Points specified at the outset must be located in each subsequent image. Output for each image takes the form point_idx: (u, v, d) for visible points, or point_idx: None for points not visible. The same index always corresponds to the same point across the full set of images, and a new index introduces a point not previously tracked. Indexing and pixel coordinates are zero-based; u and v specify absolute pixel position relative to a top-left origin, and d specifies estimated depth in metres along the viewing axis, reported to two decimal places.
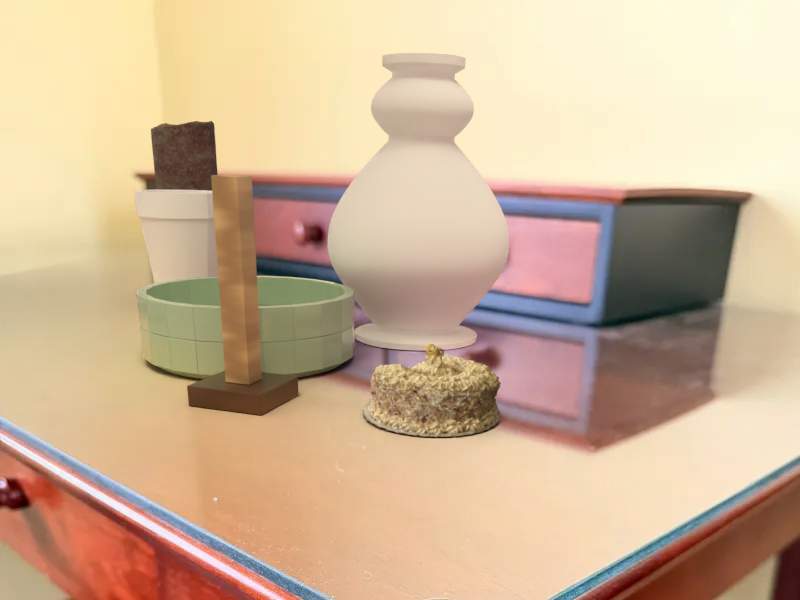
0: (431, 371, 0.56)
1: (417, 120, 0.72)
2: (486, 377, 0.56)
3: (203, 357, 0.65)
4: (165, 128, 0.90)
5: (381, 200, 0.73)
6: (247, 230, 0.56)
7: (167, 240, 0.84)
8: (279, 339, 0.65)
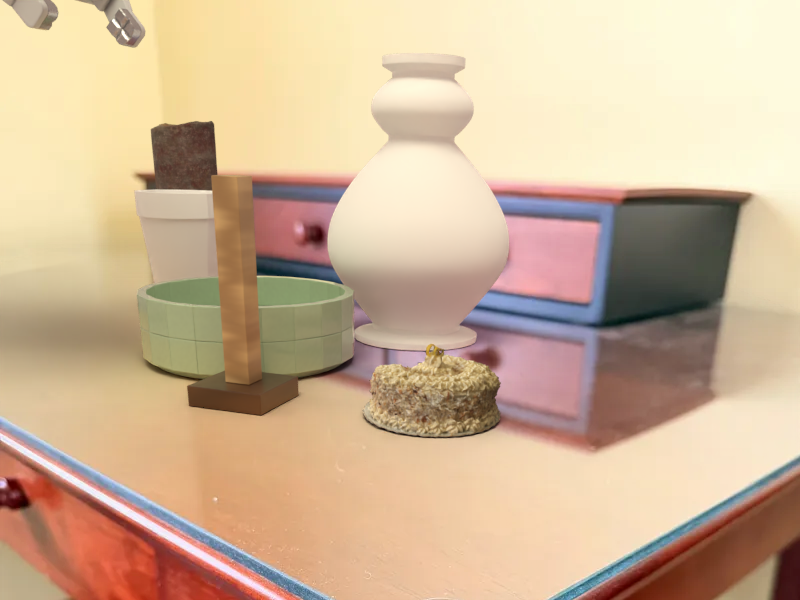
0: (431, 371, 0.56)
1: (417, 120, 0.72)
2: (486, 377, 0.56)
3: (203, 357, 0.65)
4: (165, 128, 0.90)
5: (381, 200, 0.73)
6: (247, 230, 0.56)
7: (167, 240, 0.84)
8: (279, 339, 0.65)
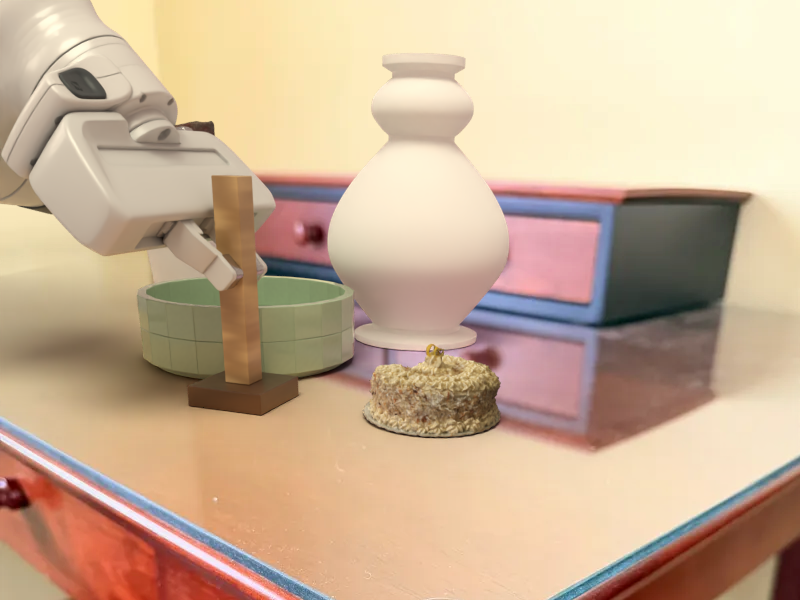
0: (431, 371, 0.56)
1: (417, 120, 0.72)
2: (486, 377, 0.56)
3: (203, 357, 0.65)
4: None
5: (381, 200, 0.73)
6: (247, 230, 0.56)
7: None
8: (279, 339, 0.65)
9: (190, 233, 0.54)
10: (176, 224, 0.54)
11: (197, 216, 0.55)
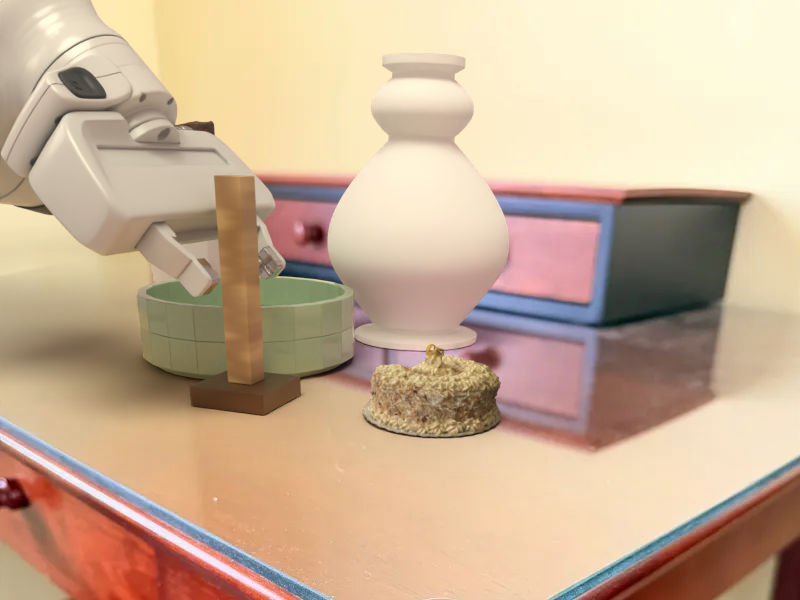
0: (431, 371, 0.56)
1: (417, 120, 0.72)
2: (486, 377, 0.56)
3: (203, 357, 0.65)
4: None
5: (381, 200, 0.73)
6: (250, 230, 0.56)
7: None
8: (279, 339, 0.65)
9: (162, 236, 0.51)
10: (147, 226, 0.52)
11: (196, 216, 0.55)
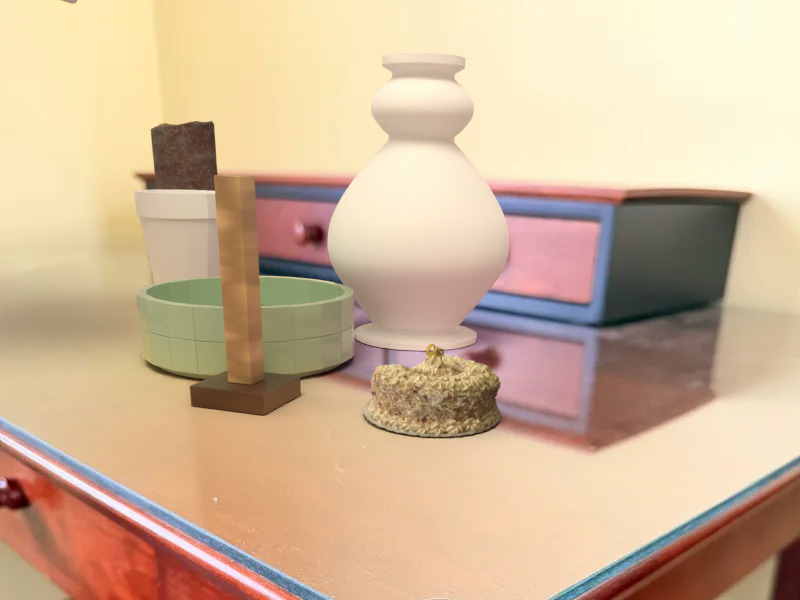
0: (431, 371, 0.56)
1: (417, 120, 0.72)
2: (486, 377, 0.56)
3: (203, 357, 0.65)
4: (165, 128, 0.90)
5: (381, 200, 0.73)
6: (250, 230, 0.56)
7: (167, 240, 0.84)
8: (279, 339, 0.65)
9: None
10: None
11: None
